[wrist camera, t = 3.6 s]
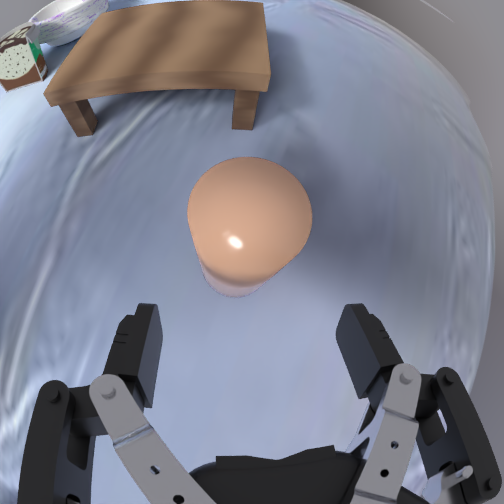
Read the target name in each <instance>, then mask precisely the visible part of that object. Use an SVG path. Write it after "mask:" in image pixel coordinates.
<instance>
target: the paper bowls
mask: <svg viewBox="0 0 504 504" xmlns="http://www.w3.org/2000/svg"><path fill="white" fill-rule="evenodd" d="M108 7H109V5H108V0H56V1H54V2H52V3H50V4H49V5H47V6H46V7H44V8H43V9H41V10H40V11H38V12H37V13H36V14H35V15H34V16H33V17H32V18H31V19H30V20H29V22H33V24H36V26H37V27H38V28H39V29H40V33H39V35H38V41H39V44H43V43H47V44H48V45H50V46H59V45H63V44H66V43H69V42H71V41H73V40H75V39H77V38H79V37H81V36H83V34H84V33H85V32H86V31H87V29H88V28H89V27H90V26H91V25H92V23H93V22H94V21H95V20H96V19H97V18H98V17H99V15H100V14H101V13H105V12H106V11H107V9H108Z"/></svg>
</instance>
